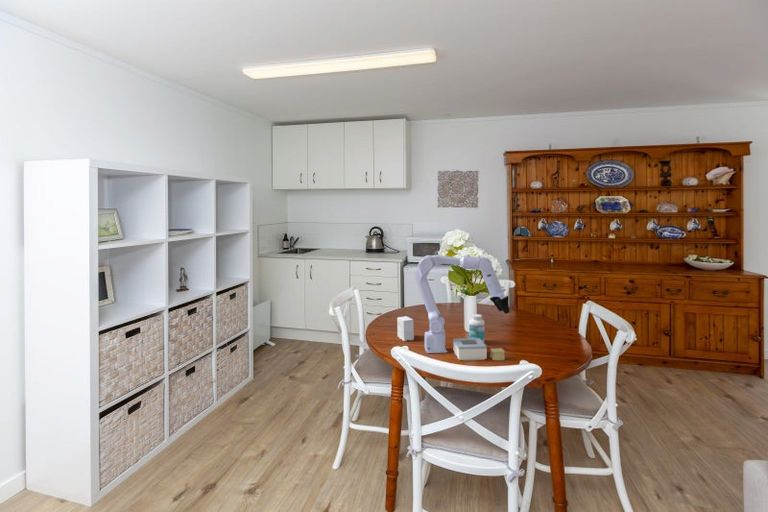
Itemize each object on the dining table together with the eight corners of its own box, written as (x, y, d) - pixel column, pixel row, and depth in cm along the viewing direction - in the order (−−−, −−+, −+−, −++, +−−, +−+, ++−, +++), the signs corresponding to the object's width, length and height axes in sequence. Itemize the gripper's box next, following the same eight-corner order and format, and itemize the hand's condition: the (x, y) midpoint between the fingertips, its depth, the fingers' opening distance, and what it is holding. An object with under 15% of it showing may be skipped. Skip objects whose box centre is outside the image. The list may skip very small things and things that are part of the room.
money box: (458, 360, 180) (459, 347, 179) (453, 351, 192) (453, 338, 191) (486, 359, 180) (486, 346, 180) (479, 350, 192) (479, 337, 192)
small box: (413, 340, 209) (413, 319, 208) (403, 341, 207) (403, 320, 206) (407, 335, 217) (407, 315, 216) (397, 337, 215) (397, 317, 214)
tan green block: (492, 360, 180) (493, 351, 179) (490, 357, 184) (490, 348, 183) (504, 360, 180) (504, 351, 179) (501, 357, 184) (501, 348, 183)
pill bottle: (465, 341, 207) (466, 314, 205) (478, 339, 209) (479, 312, 208) (474, 345, 200) (474, 317, 198) (487, 343, 202) (487, 316, 201)
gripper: (506, 280, 178) (518, 310, 178) (496, 278, 192) (507, 306, 192) (490, 287, 177) (503, 316, 178) (482, 284, 192) (493, 312, 192)
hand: (504, 311), depth 185 cm, fingers open, 7 cm apart
